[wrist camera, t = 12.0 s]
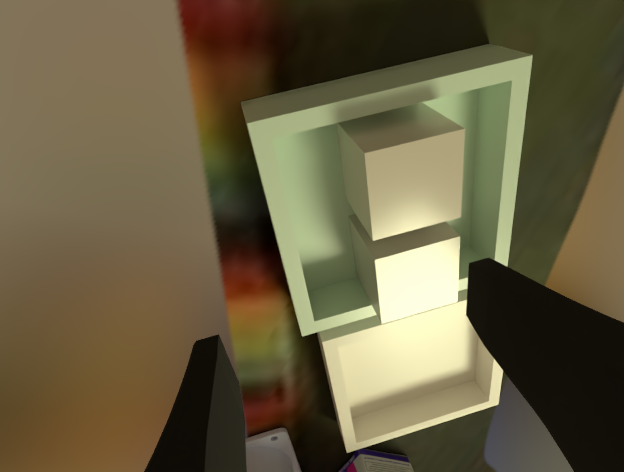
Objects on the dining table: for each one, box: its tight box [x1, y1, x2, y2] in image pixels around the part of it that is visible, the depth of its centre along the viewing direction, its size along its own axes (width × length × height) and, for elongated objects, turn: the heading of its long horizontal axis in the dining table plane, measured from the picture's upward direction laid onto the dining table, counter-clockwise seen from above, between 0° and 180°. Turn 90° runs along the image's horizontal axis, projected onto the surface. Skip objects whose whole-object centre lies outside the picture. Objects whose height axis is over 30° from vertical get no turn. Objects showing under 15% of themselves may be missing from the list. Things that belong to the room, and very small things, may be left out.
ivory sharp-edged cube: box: [336, 102, 465, 241], centre depth 19 cm, size 4×4×4 cm
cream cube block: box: [348, 214, 460, 324], centre depth 22 cm, size 4×4×4 cm
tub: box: [240, 44, 533, 337], centre depth 21 cm, size 12×12×3 cm
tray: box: [317, 289, 503, 453], centre depth 28 cm, size 12×12×2 cm
